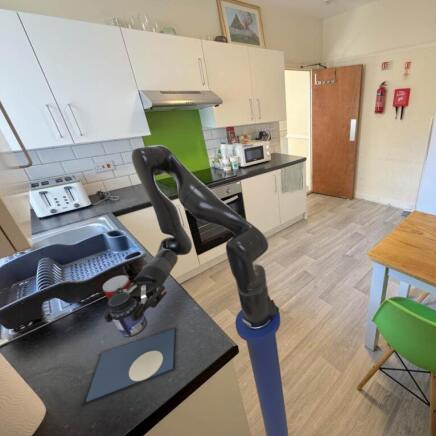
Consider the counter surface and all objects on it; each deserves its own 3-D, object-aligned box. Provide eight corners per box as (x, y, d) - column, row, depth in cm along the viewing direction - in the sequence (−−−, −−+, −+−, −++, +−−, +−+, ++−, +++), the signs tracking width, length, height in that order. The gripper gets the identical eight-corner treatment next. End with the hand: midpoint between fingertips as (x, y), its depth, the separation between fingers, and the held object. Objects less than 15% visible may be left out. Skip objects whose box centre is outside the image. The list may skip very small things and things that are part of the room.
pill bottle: (149, 316, 68) (136, 287, 63) (145, 334, 63) (129, 304, 58) (125, 323, 66) (109, 293, 61) (118, 341, 61) (100, 311, 56)
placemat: (175, 329, 77) (174, 328, 77) (173, 369, 65) (172, 368, 65) (102, 353, 71) (101, 352, 70) (86, 403, 59) (85, 402, 58)
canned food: (121, 317, 83) (108, 293, 78) (110, 308, 87) (97, 285, 82) (143, 302, 88) (132, 279, 83) (132, 295, 92) (121, 272, 87)
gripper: (127, 266, 73) (85, 310, 58) (173, 264, 72) (143, 307, 57) (135, 285, 76) (98, 331, 61) (180, 282, 76) (153, 328, 61)
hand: (120, 319), depth 59 cm, fingers closed on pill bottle, 6 cm apart
